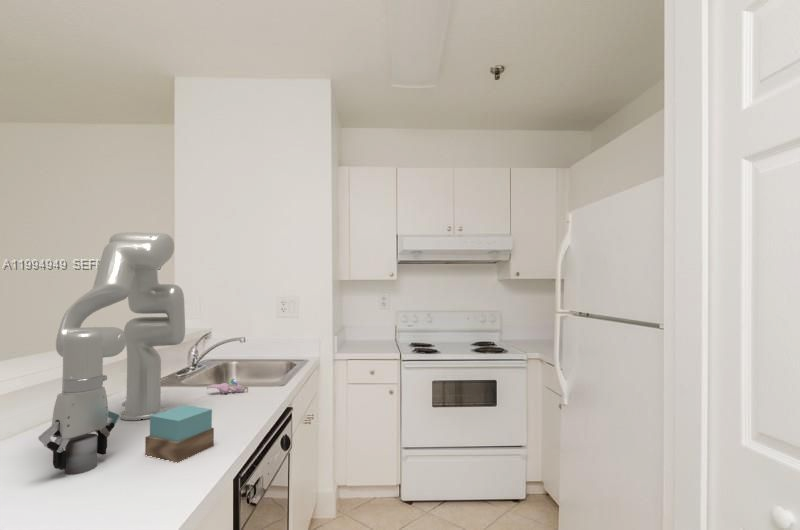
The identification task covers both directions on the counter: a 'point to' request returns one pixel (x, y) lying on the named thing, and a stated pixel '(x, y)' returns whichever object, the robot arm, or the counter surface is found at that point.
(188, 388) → the counter surface
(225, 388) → the pink patterned figure
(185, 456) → the walnut base block
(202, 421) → the teal top block
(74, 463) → the charcoal cylinder
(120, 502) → the counter surface
